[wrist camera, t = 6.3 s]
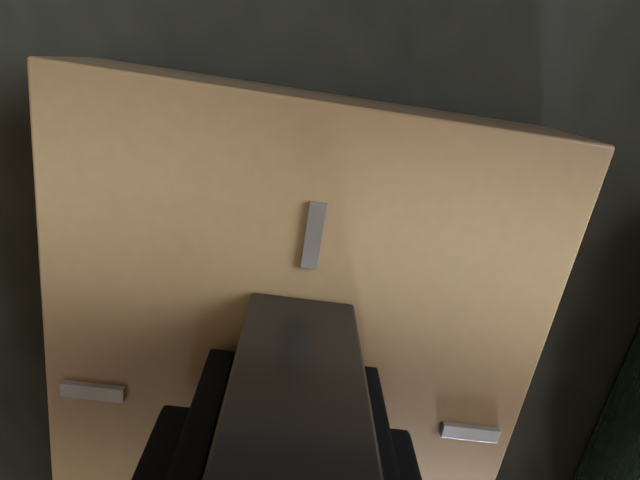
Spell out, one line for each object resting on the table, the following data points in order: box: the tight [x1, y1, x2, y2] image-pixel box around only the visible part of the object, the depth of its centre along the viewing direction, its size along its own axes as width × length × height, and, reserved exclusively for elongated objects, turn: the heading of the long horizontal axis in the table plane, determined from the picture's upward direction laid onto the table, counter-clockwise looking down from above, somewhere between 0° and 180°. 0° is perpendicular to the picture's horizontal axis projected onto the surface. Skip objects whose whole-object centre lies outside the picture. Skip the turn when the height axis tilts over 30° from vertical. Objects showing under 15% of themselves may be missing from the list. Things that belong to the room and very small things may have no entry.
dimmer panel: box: [27, 56, 615, 480], centre depth 12 cm, size 14×11×3 cm
